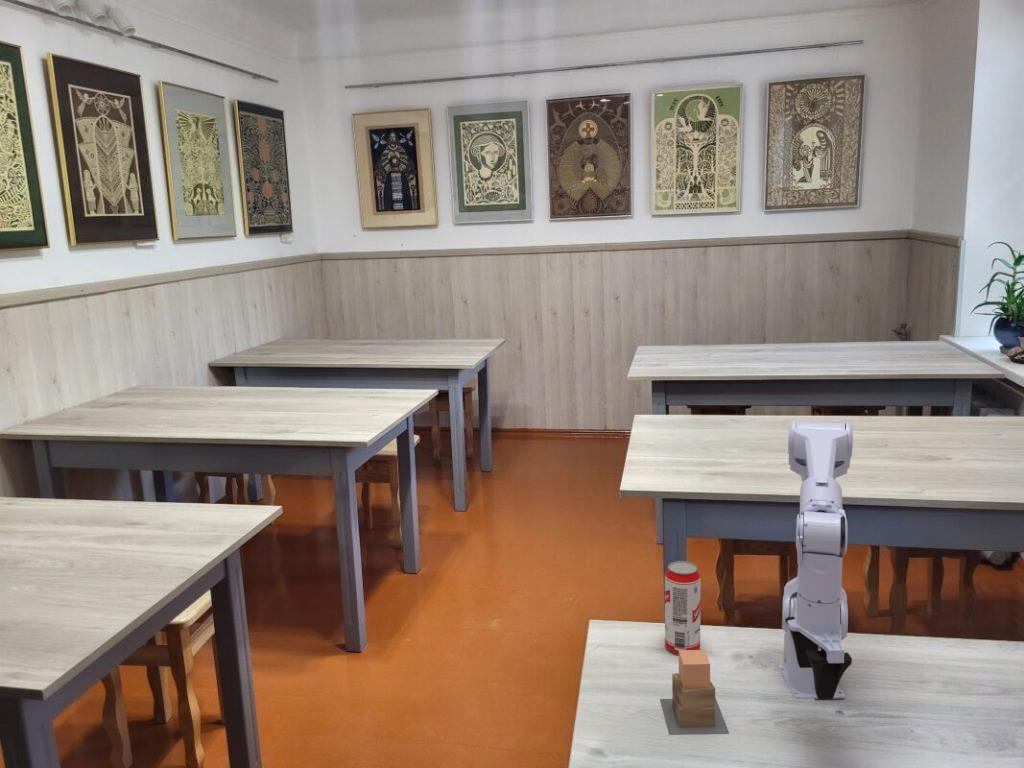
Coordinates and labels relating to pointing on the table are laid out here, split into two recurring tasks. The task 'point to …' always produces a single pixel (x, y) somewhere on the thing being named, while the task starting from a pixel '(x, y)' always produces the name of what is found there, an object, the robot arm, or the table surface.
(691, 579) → the beer can
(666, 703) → the mat
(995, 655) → the table surface
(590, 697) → the table surface
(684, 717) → the slab bottom
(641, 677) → the table surface
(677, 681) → the slab top
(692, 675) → the cube
